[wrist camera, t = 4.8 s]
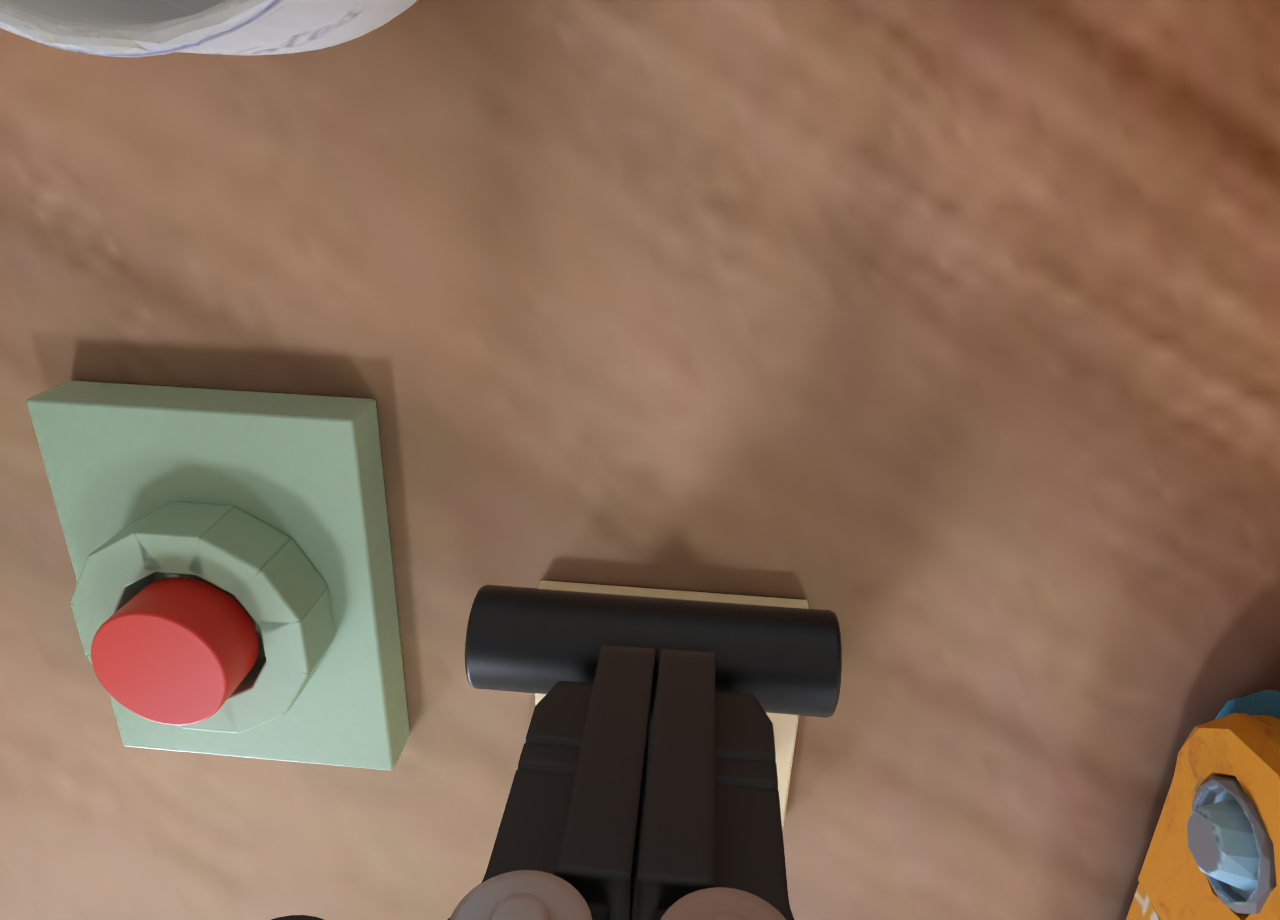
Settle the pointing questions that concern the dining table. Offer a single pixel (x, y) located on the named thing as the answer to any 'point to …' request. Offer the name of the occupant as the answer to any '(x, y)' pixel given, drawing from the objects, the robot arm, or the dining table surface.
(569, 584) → the lever bracket
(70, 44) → the teacup
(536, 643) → the press lever
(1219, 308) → the dining table surface
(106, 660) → the button
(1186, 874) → the device
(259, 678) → the button block
